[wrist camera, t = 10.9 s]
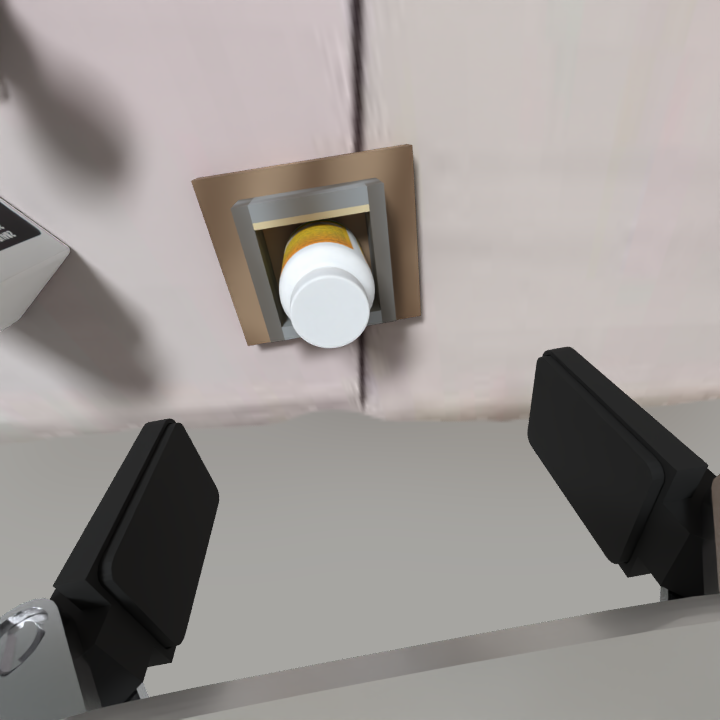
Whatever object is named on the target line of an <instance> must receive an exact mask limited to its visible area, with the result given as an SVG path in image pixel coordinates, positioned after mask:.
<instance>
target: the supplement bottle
mask: <svg viewBox="0 0 720 720" xmlns="http://www.w3.org/2000/svg"><path fill="white" fill-rule="evenodd" d="M279 295H280V300H281V304H282V307H283V309H284V311H285V313H286V314H287V316H288V317H289V318H290V320H291V322H292V325H293V327H294V329H295V331H296V332H297V333H298V335H299V336H300V337H301V338H302V339H304V340H305V341H306V342H308V343H310V344H312V345H314V346H317V347H321V348H337V347H341V346H345V345H347V344H349V343H351V342H353V341H354V340H355V339H357V338H358V337H359V336H360V335H361V333H362V332H363V331H364V329H365V327H366V326H367V323H368V320H369V315H370V309H371V307H372V304H373V300H374V295H375V285H374V280H373V276H372V272H371V270H370V268H369V265H368V263H367V261H366V259H365V256H364V254H363V252H362V249H361V247H360V245H359V243H358V241H357V239H356V237H355V236H354V234H353V233H352V232H351V231H350V230H349V229H348V228H347V227H346V226H344V225H343V224H341V223H339V222H337V221H334V220H330V219H320V220H314V221H308V222H305V223H304V224H302V225H300V226H299V227H298V228H297V229H296V230H295V231H294V232H293V233H292V234H291V236H290V237H289V239H288V241H287V244H286V247H285V252H284V258H283V264H282V270H281V276H280V282H279Z"/></svg>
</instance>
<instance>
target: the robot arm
mask: <svg viewBox="0 0 720 720" xmlns="http://www.w3.org/2000/svg"><path fill="white" fill-rule="evenodd" d="M528 439H529V442H530V444H531V446H532V447H533V449H534V451H535V452H536V454H537V455H538V457H539V458H540V460H541V461H542V462H543V464H544V465H545V467H546V468H547V470H548V471H549V473H550V474H551V476H552V477H553V479H554V480H555V482H556V483H557V485H558V486H559V488H560V489H561V491H562V492H563V494H564V495H565V497H566V498H567V500H568V501H569V502H570V504H571V505H572V507H573V508H574V510H575V511H576V513H577V514H578V516H579V517H580V519H581V520H582V522H583V523H584V525H585V526H586V528H587V529H588V530H589V532H590V533H591V535H592V536H593V538H594V539H595V541H596V542H597V544H598V545H599V547H600V548H601V550H602V551H603V552H604V554H605V556H606V557H607V558H608V559H609V560H610V561H611V562H612V563H614V564H619V566H620V567H621V569H622V570H623V571H624V573H625V574H626V576H627V577H634V576H639V575H645V574H650V573H651V574H652V575H653V577H654V578H655V579H656V581H657V582H658V583H659V585H660V586H661V592H660V602H657V603H652V604H646V605H638V606H633V607H626V608H620V609H614V610H608V611H602V612H597V613H591V614H586V615H581V616H575V617H569V618H564V619H558V620H553V621H547V622H542V623H537V624H531V625H525V626H520V627H514V628H509V629H503V630H498V631H492V632H487V633H482V634H476V635H470V636H465V637H460V638H454V639H449V640H444V641H438V642H433V643H428V644H422V645H417V646H411V647H406V648H401V649H395V650H390V651H385V652H379V653H374V654H369V655H363V656H358V657H353V658H347V659H342V660H337V661H332V662H326V663H321V664H316V665H310V666H305V667H300V668H295V669H290V670H284V671H279V672H275V673H269V674H264V675H259V676H253V677H248V678H243V679H238V680H233V681H227V682H222V683H217V684H212V685H207V686H202V687H196V688H191V689H186V690H182V691H177V692H173V693H168V694H163V695H158V696H153V697H149V696H148V694H147V692H146V689H145V687H144V684H143V680H144V677H145V673H146V670H147V667H150V666H155V665H161V664H167V663H172V659H173V656H174V652H175V649H176V646H177V645H180V644H181V642H182V641H183V639H184V636H185V633H186V629H187V625H188V622H189V617H190V614H191V610H192V605H193V602H194V598H195V594H196V590H197V586H198V582H199V578H200V574H201V570H202V566H203V562H204V559H205V555H206V551H207V547H208V543H209V539H210V535H211V531H212V527H213V523H214V519H215V515H216V511H217V507H218V503H219V493H218V490H217V487H216V485H215V483H214V482H213V480H212V478H211V476H210V474H209V472H208V471H207V469H206V467H205V465H204V463H203V461H202V460H201V458H200V456H199V454H198V452H197V450H196V448H195V447H194V445H193V443H192V441H191V439H190V438H189V436H188V434H187V432H186V430H185V428H184V426H183V425H182V424H181V423H176V422H175V421H174V420H173V419H164V420H159V421H153V422H148V423H146V424H145V425H144V427H143V428H142V430H141V432H140V434H139V435H138V437H137V439H136V441H135V442H134V444H133V446H132V448H131V449H130V451H129V453H128V455H127V456H126V458H125V460H124V462H123V464H122V465H121V467H120V469H119V470H118V472H117V474H116V476H115V477H114V479H113V481H112V483H111V484H110V487H109V488H108V490H107V492H106V493H105V495H104V497H103V499H102V501H101V502H100V504H99V506H98V507H97V509H96V511H95V513H94V514H93V516H92V518H91V520H90V521H89V523H88V525H87V527H86V528H85V530H84V532H83V534H82V535H81V537H80V539H79V541H78V542H77V544H76V546H75V548H74V549H73V551H72V553H71V555H70V557H69V558H68V560H67V562H66V563H65V565H64V567H63V569H62V570H61V572H60V574H59V576H58V578H57V580H56V581H55V583H54V585H53V587H55V588H56V589H55V591H54V593H53V594H52V596H51V598H50V600H49V599H46V598H42V599H33V600H31V601H28V602H25V603H23V604H20V605H19V606H17V607H15V608H14V609H12V610H10V611H9V612H7V613H5V614H4V615H3V616H2V617H0V720H720V474H719V475H718V476H715V475H714V474H713V473H712V472H711V471H710V470H709V469H707V467H708V465H707V463H705V462H704V461H703V460H702V459H701V458H700V457H698V456H697V455H696V454H695V453H694V452H693V451H691V450H690V449H689V448H688V447H687V446H686V445H684V444H683V443H682V442H681V441H680V440H679V439H677V438H676V437H675V436H674V435H673V434H672V433H671V432H669V431H668V430H667V429H666V428H665V427H663V426H662V425H661V424H660V423H659V422H657V420H655V419H654V418H653V417H652V416H651V415H650V414H648V413H647V412H646V411H645V410H644V409H643V408H641V407H640V406H639V405H638V404H637V403H636V402H635V401H633V400H632V399H631V398H630V397H629V396H628V395H626V394H625V393H624V392H623V391H622V390H621V389H619V388H618V387H617V386H616V385H615V384H614V383H612V382H611V381H610V380H609V379H608V378H607V377H605V376H604V375H603V374H602V373H601V372H600V371H599V370H597V369H596V368H595V367H594V366H593V365H592V364H590V363H589V362H588V361H587V360H586V359H585V358H583V357H582V356H581V355H580V354H579V353H578V352H576V351H575V350H574V349H573V348H571V347H563V348H557V349H552V350H547V351H545V352H544V354H543V356H542V357H540V358H538V360H537V364H536V372H535V379H534V387H533V394H532V402H531V410H530V417H529V425H528Z"/></svg>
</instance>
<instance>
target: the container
mask: <svg viewBox="0 0 720 720" xmlns="http://www.w3.org/2000/svg"><path fill="white" fill-rule="evenodd" d="M69 253H70V249H69V247H68V246H67V245H65V244H64V243H63V242H61V241H60V240H59V239H57V238H56V237H54V236H53V235H52V234H50V233H49V232H47V231H46V230H45V229H43V228H42V227H40V226H39V225H38V224H36V223H35V222H33V221H32V220H31V219H29V218H28V217H26V216H25V215H24V214H22V213H21V212H19V211H18V210H17V209H15V208H14V207H13V206H11V205H10V204H8V203H7V202H6V201H4V200H3V199H1V198H0V332H1V331H2V330H4V329H5V328H7V327H8V326H10V325H11V324H13V323H14V322H16V321H17V320H19V319H20V318H21V317H22V315H23V314H24V313H25V311H26V310H27V309H28V307H29V306H30V305H31V303H32V302H33V301H34V299H35V298H36V297H37V295H38V294H39V293H40V291H41V290H42V289H43V288H44V286H45V285H46V284H47V282H48V281H49V280H50V278H51V277H52V276H53V274H54V273H55V272H56V270H57V269H58V268H59V266H60V265H61V264H62V263H63V261H64V260H65V259H66V257H67V256H68V255H69Z"/></svg>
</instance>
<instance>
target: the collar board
mask: <svg viewBox="0 0 720 720" xmlns="http://www.w3.org/2000/svg"><path fill="white" fill-rule="evenodd" d="M191 182H192V185H193V188H194V191H195V193H196V196H197V199H198V202H199V205H200V208H201V211H202V214H203V217H204V220H205V223H206V225H207V228H208V231H209V234H210V237H211V240H212V243H213V246H214V249H215V252H216V254H217V257H218V260H219V263H220V266H221V269H222V272H223V275H224V278H225V281H226V284H227V286H228V289H229V292H230V295H231V298H232V301H233V304H234V307H235V310H236V313H237V315H238V318H239V321H240V324H241V327H242V330H243V333H244V336H245V339H246V342H247V345H248V346H250V345H256V344H262V343H267V342H277V341H283V340H288V339H294V338H300V336H299V335H298V333H297V332H296V331H295V329H294V327H293V325H292V322H291V320H290V318H289V317H288V316H287V314H286V313H285V311H284V309H283V307H282V304H281V300H280V295H279V282H280V276H281V270H282V264H283V258H284V252H285V247H286V244H287V241H288V239H289V237H290V236H291V234H292V233H293V232H294V231H295V230H296V229H297V228H298V227H299V226H300V225H302V224H304V223H305V222H308V221H314V220H320V219H330V220H334V221H337V222H339V223H341V224H343V225H344V226H346V227H347V228H348V229H349V230H350V231H351V232H352V233H353V234H354V236H355V237H356V239H357V241H358V243H359V245H360V247H361V249H362V252H363V254H364V256H365V259H366V261H367V263H368V265H369V268H370V270H371V272H372V276H373V280H374V285H375V295H374V300H373V304H372V307H371V309H370V315H369V320H368V323H367V326H369V325H374V324H380V323H386V322H391V321H396V320H399V319H405V318H410V317H416V316H421V307H420V288H419V268H418V248H417V229H416V209H415V189H414V170H413V150H412V145H409V144H405V145H399V146H393V147H387V148H380V149H374V150H368V151H362V152H356V153H350V154H343V155H337V156H331V157H325V158H319V159H313V160H306V161H300V162H294V163H288V164H282V165H276V166H269V167H263V168H257V169H251V170H245V171H239V172H232V173H226V174H220V175H214V176H208V177H202V178H197V179H194V180H192V181H191Z"/></svg>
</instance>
